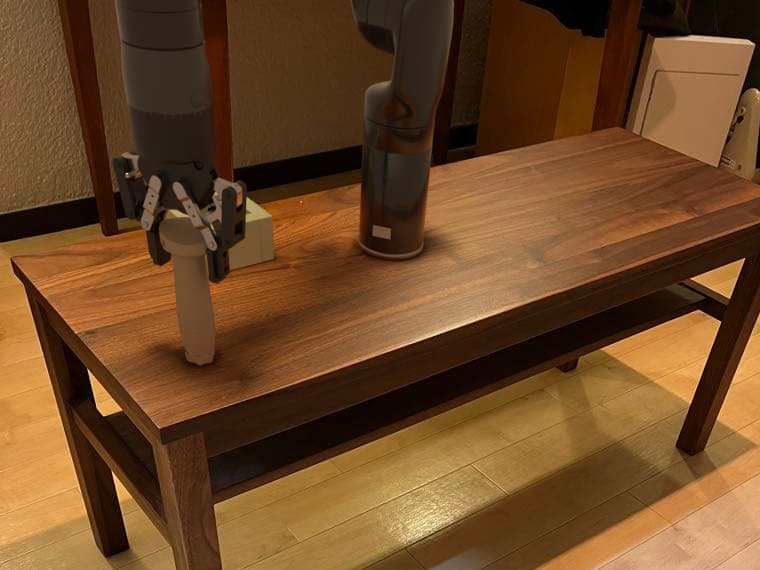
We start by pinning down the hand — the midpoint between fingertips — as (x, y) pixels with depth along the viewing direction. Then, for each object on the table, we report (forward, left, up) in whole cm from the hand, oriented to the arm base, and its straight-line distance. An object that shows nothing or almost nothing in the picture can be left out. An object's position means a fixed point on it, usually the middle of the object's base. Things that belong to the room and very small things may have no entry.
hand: (190, 270), depth 83 cm
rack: (-23, -13, -11) cm, 28 cm away
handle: (0, 0, -11) cm, 11 cm away
